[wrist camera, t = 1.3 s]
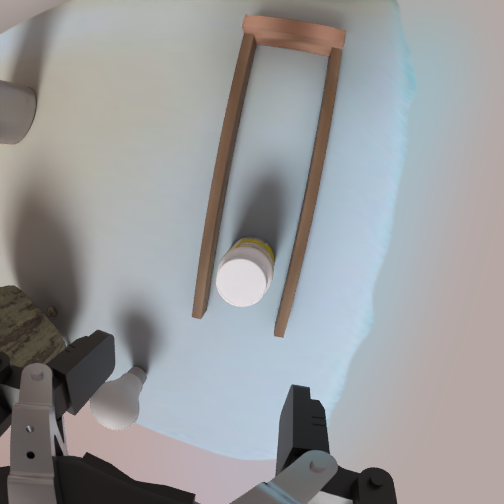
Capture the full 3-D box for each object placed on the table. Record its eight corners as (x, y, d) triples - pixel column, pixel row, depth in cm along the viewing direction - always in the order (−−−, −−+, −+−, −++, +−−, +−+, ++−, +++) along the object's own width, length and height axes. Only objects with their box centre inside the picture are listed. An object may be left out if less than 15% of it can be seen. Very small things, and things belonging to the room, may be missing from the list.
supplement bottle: (242, 286, 32) (227, 320, 24) (221, 247, 31) (199, 269, 23) (283, 268, 31) (281, 297, 23) (262, 227, 30) (254, 243, 22)
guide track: (198, 307, 33) (187, 322, 29) (250, 32, 26) (245, 14, 22) (283, 327, 32) (282, 344, 28) (339, 47, 25) (346, 30, 21)
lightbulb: (152, 352, 35) (112, 403, 25) (166, 389, 36) (135, 443, 26) (115, 352, 36) (72, 397, 25) (130, 387, 37) (94, 435, 27)
